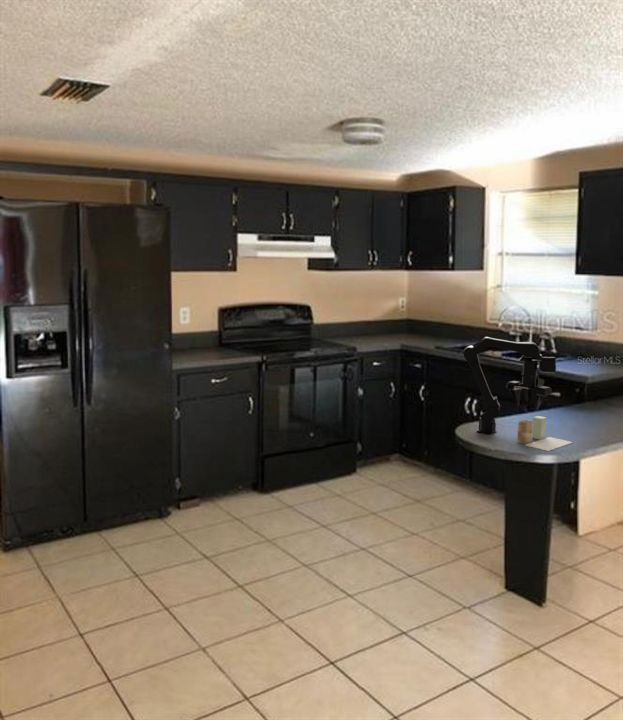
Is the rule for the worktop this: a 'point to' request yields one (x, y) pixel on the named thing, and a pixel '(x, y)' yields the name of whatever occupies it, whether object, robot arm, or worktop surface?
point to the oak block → (524, 432)
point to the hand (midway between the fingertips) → (527, 407)
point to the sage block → (539, 427)
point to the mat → (548, 444)
